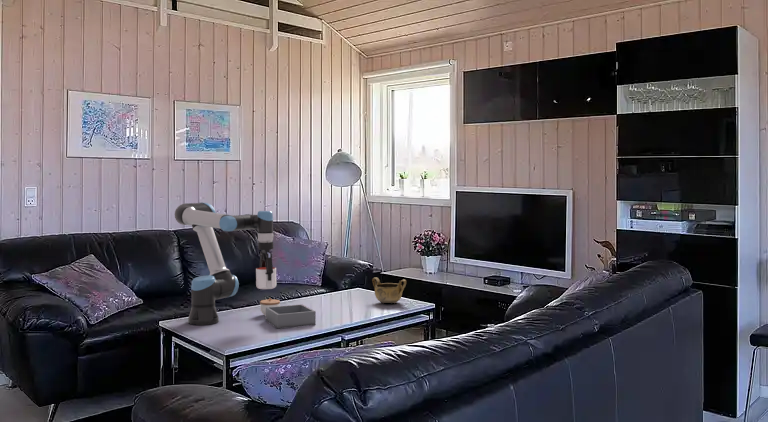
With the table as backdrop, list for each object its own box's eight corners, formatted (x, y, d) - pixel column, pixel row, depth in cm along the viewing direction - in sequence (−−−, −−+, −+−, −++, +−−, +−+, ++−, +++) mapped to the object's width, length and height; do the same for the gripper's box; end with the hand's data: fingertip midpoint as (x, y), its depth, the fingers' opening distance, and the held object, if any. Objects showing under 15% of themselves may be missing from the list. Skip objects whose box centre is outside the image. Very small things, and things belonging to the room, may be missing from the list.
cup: (280, 287, 332) (280, 267, 332) (268, 290, 324) (268, 270, 323) (264, 286, 337) (264, 266, 337) (252, 288, 328) (251, 269, 328)
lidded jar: (263, 318, 348) (263, 300, 348) (257, 314, 358) (257, 297, 357) (282, 316, 353) (282, 299, 353) (276, 312, 363) (276, 295, 362)
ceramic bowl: (411, 302, 394) (411, 278, 393) (398, 307, 379) (398, 282, 378) (379, 299, 405) (379, 275, 404) (365, 303, 390) (365, 278, 389)
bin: (277, 328, 324) (277, 314, 324) (265, 320, 342) (265, 307, 342) (315, 324, 334) (315, 311, 333) (302, 317, 351) (302, 304, 351)
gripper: (279, 242, 321) (279, 288, 322) (267, 239, 341) (268, 282, 342) (264, 243, 318) (264, 289, 318) (253, 240, 338) (253, 283, 339)
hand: (266, 285), depth 330 cm, fingers closed on cup, 10 cm apart
